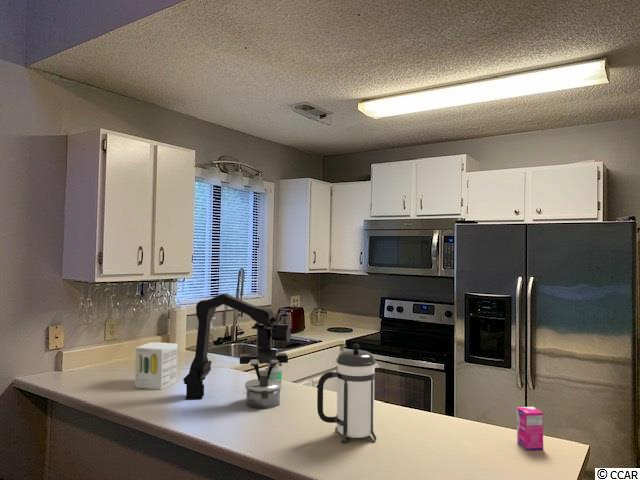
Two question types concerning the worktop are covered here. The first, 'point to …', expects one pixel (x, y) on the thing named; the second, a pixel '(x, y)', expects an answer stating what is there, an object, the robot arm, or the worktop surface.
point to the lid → (263, 383)
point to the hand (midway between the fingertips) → (263, 380)
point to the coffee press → (352, 394)
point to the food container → (276, 372)
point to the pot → (263, 399)
